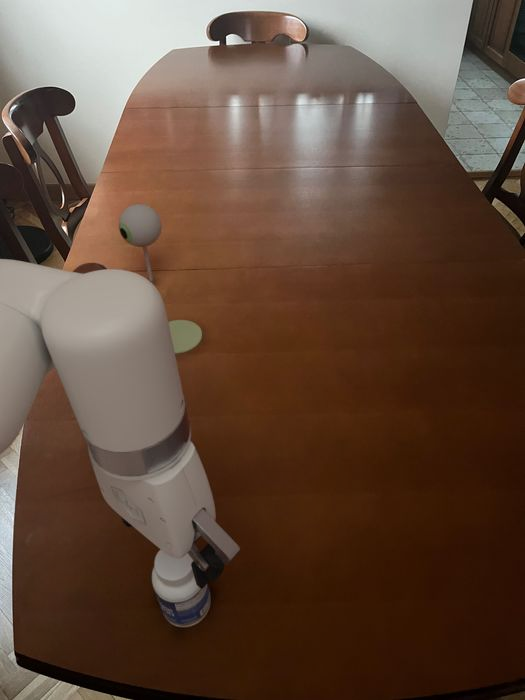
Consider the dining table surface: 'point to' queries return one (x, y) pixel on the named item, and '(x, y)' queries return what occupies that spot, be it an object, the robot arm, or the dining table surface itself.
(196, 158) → the dining table surface
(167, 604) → the pill bottle
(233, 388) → the dining table surface
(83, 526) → the dining table surface
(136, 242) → the lollipop
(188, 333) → the coaster
